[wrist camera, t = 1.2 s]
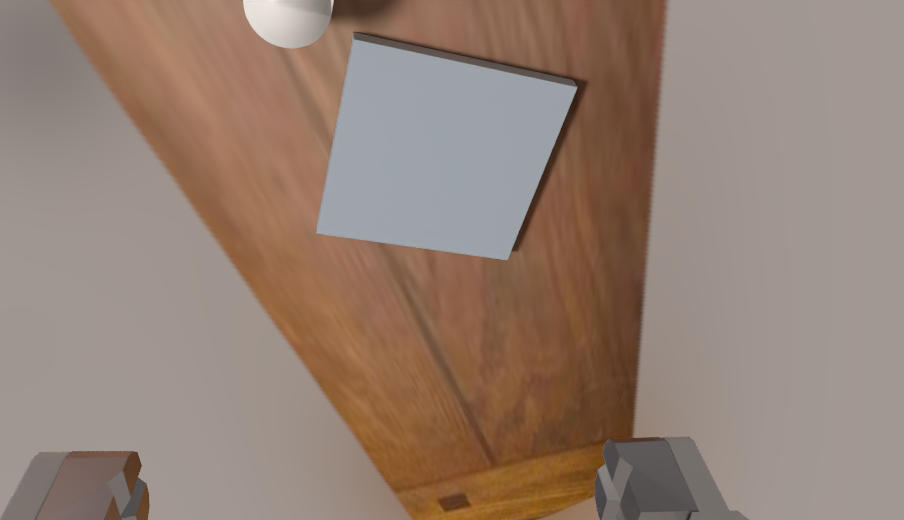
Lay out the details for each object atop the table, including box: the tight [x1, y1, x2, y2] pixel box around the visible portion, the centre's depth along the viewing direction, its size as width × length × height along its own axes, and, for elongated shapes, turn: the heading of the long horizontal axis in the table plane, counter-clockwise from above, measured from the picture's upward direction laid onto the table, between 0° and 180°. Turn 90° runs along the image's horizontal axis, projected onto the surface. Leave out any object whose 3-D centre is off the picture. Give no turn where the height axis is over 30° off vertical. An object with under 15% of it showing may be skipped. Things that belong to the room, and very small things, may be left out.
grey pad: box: [316, 32, 578, 260], centre depth 43 cm, size 13×13×1 cm
